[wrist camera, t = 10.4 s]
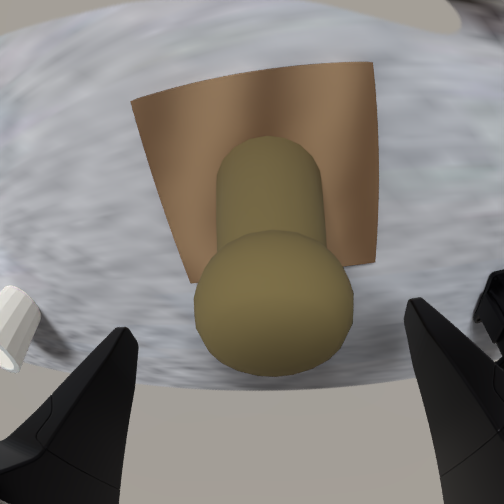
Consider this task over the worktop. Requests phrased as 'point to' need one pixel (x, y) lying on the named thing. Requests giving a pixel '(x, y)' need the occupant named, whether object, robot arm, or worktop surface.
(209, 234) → the walnut coaster board
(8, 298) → the white faceted cup
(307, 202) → the cork
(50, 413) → the robot arm
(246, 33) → the worktop surface
